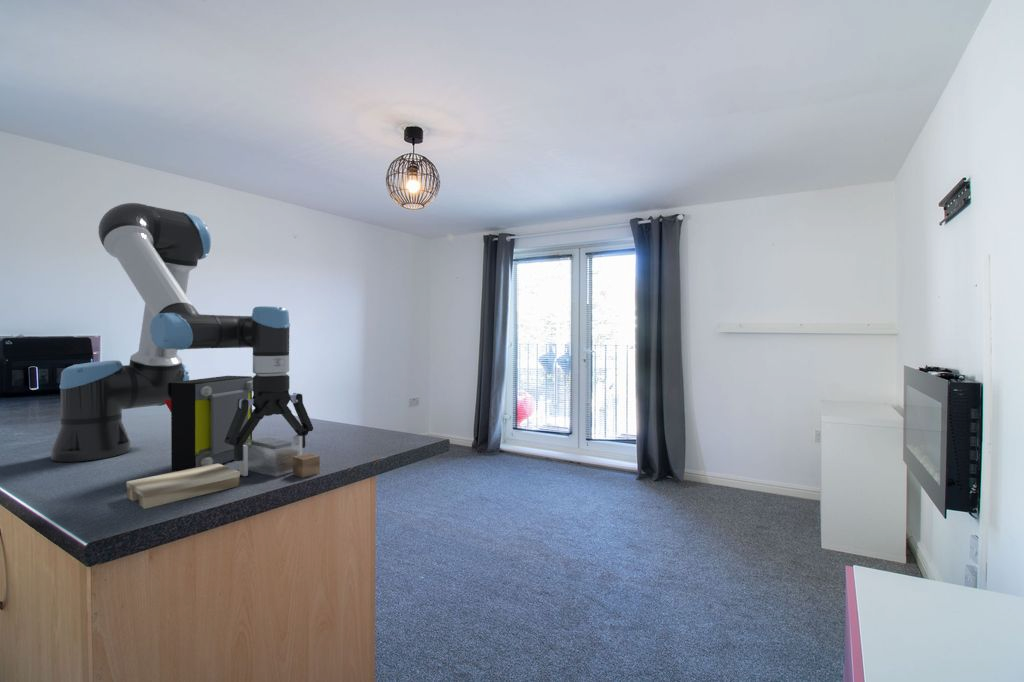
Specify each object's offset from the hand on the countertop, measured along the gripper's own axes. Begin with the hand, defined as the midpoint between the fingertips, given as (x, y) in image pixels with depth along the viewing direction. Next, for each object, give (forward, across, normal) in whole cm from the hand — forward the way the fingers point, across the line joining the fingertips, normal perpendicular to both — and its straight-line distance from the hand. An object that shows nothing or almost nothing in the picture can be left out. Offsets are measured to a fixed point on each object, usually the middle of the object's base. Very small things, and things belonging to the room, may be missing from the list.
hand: (271, 468), depth 110 cm
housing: (0, 0, 0) cm, 0 cm away
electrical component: (0, -5, +17) cm, 18 cm away
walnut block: (0, +3, -9) cm, 10 cm away
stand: (0, -18, -2) cm, 18 cm away
